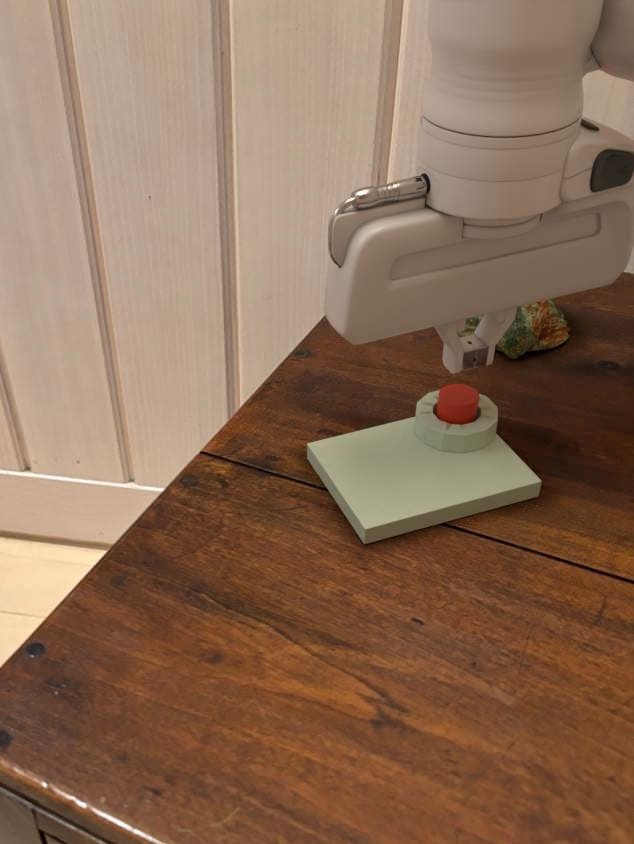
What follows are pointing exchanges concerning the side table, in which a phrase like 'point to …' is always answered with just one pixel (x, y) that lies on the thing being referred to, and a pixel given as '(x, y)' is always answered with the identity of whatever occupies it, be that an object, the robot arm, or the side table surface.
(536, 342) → the seashell
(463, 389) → the button
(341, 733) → the side table surface
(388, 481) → the scale
